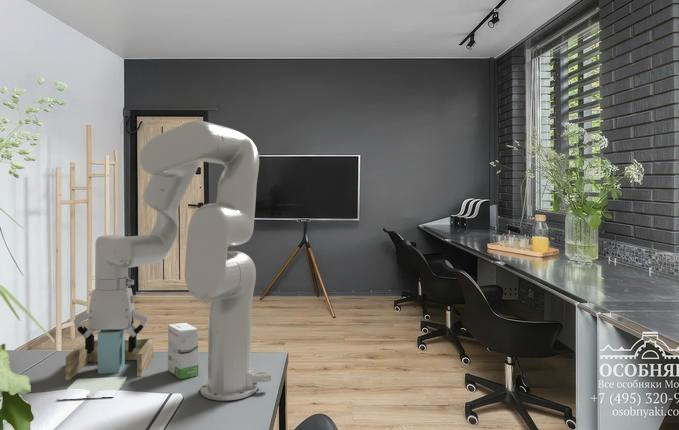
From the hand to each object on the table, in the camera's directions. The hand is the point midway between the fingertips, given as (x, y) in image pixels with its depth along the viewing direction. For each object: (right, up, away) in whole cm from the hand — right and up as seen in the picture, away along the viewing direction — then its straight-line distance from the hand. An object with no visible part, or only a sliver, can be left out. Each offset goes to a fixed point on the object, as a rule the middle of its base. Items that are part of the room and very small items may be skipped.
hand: (111, 351), depth 120 cm
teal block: (0, -5, 0) cm, 5 cm away
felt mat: (+2, -5, -13) cm, 14 cm away
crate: (0, -5, +1) cm, 5 cm away
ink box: (+19, -5, -2) cm, 19 cm away
